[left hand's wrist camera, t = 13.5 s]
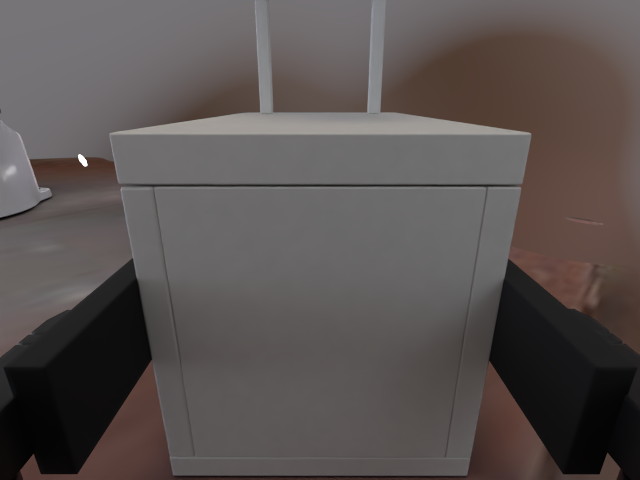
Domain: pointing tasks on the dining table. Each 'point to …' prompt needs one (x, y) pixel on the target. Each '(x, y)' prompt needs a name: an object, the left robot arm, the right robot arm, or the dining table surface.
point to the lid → (320, 142)
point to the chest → (320, 322)
